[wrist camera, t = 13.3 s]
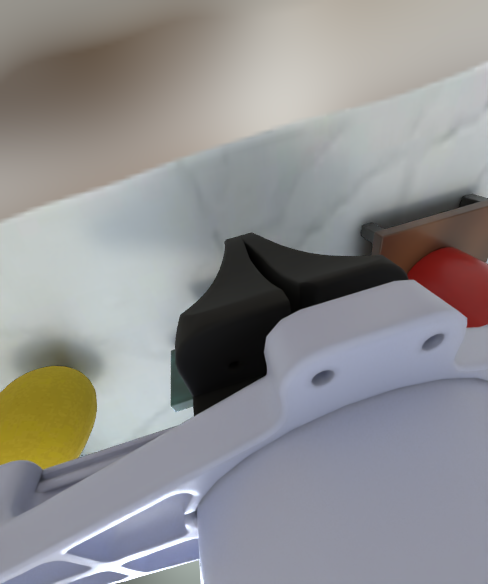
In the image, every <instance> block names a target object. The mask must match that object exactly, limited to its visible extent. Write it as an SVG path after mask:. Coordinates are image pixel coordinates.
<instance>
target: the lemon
mask: <svg viewBox="0 0 488 584" xmlns="http://www.w3.org/2000/svg"><path fill="white" fill-rule="evenodd" d="M96 412H97V400H96V392H95V389H94V387H93V385H92V383H91V382H90V380H89V379H88V378H87V377H86V376H85V375H84V374H82V373H81V372H79V371H77V370H75V369H72V368H69V367H66V366H49V367H43V368H39V369H36V370H33V371H30V372H28V373H26V374H24V375H22V376H20V377H19V378H17V379H15V380H14V381H13V382H11V383H10V384H9V385H8V386H7V387H6V388H5V389H4V390H3V391H2V392H1V393H0V465H3V464H6V463H9V462H12V461H17V460H27V461H31V462H33V463H35V464H37V465H38V466H40V467H41V468H42V469H46V468H49V467H52V466H55V465H58V464H61V463H64V462H67V461H71V460H74V459H77V458H78V457H79V456H80V454H81V452H82V451H83V449H84V447H85V445H86V443H87V441H88V438H89V436H90V433H91V431H92V428H93V425H94V422H95V418H96Z"/></svg>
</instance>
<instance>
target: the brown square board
mask: <svg viewBox="0 0 488 584" xmlns="http://www.w3.org/2000/svg"><path fill="white" fill-rule="evenodd" d="M361 236H362V237H364V238H365V239H367V240H368V241H370V242H371V243H373V246H372V253H371V255H383V256H385V257H386V258H388V259H389V260H391V261H392V262H393V263H395V264H396V265H398V266H399V267H401V268H402V269H403V270H404V271H405V272H406V274H408V272H409V271H410V270H411V269H412V267H413V266H414V265H415V264H416V263H417V262H418V261H420V260H421V259H422V258H423V257H425V256H426V255H428V254H430V253H431V252H433V251H436V250H438V249H441V248H446V247H453V248H456V249H458V250H461V251H463V252H465V253H467V254H469V255H471V256H473V257H475V258H477V259H479V260H481V261H483V262H485V263H486V261H487V259H488V198H485V197H482V196H478V195H474V194H471V195H467V196H464V197H463V198H462V201H461V204H460V208H457V209H453V210H450V211H446V212H443V213H439V214H436V215H432V216H429V217H425V218H422V219H418V220H415V221H411V222H408V223H405V224H401V225H398V226H394V227H391V228H387V229H383V228H381V227H379V226H378V225H376V224H374V223H369V224H365V225H362V230H361Z"/></svg>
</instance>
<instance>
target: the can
mask: <svg viewBox="0 0 488 584" xmlns="http://www.w3.org/2000/svg"><path fill="white" fill-rule="evenodd" d="M407 276H408V280H415V281H416V282H418V283H419V284H421V285H422V286H423V287H425V288H426V289H428V290H429V291H431V292H432V293H433V294H435V295H436V296H438V297H439V298H441V299H442V300H443V301H445V302H446V303H448V304H449V305H451V306H452V307H453V308H455V309H456V310H458V311H459V312H460V313H461V314H463V315H464V316H465V317H467V327H466V328H472V327H481V326H484V325H487V324H488V264H487V263H485V262H483V261H481V260H479V259H477V258H475V257H473V256H471V255H469V254H467V253H465V252H463V251H461V250H458V249H456V248H453V247H446V248H441V249H438V250H436V251H433V252H431V253H430V254H428V255H426V256H425V257H423V258H422V259H421V260H420V261H418V262H417V263H416V264H415V265H414V266H413V267H412V269H411V270H410V271H409V272H408V274H407Z"/></svg>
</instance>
